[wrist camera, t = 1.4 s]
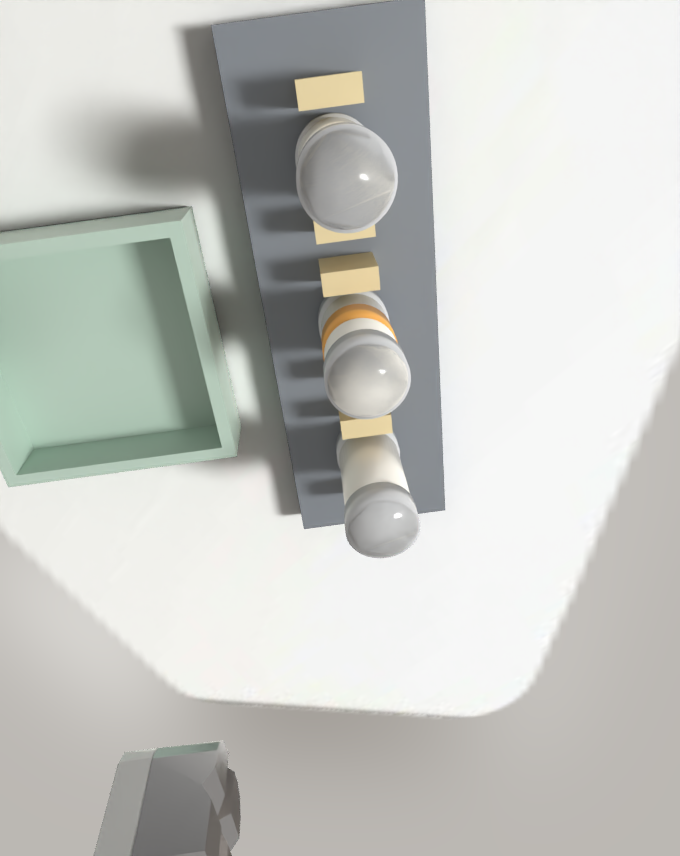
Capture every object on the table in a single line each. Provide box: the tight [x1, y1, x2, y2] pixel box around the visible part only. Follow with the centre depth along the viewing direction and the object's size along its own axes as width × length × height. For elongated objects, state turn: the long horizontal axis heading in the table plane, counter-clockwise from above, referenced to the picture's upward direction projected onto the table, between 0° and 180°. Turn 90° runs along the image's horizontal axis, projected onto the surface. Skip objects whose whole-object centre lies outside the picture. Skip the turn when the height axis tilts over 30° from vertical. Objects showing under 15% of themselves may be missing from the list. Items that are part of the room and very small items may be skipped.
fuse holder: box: [211, 0, 445, 529], centre depth 29 cm, size 24×8×4 cm, turn 7°
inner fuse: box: [295, 112, 398, 233], centre depth 23 cm, size 3×3×7 cm
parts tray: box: [0, 206, 241, 487], centre depth 29 cm, size 11×11×3 cm
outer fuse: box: [336, 429, 420, 558], centre depth 30 cm, size 3×3×7 cm
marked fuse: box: [318, 291, 411, 419], centre depth 26 cm, size 3×3×7 cm
